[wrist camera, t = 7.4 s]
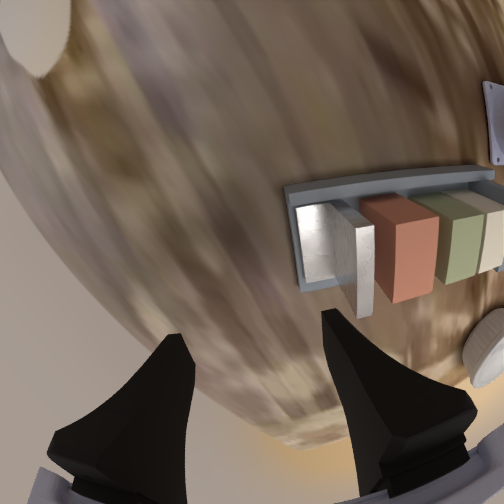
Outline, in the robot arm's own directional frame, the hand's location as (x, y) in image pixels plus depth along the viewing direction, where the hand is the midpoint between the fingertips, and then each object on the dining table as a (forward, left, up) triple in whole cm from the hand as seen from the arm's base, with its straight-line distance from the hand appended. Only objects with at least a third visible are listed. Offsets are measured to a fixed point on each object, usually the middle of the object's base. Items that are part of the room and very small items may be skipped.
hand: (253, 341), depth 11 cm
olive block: (-14, 0, -9) cm, 16 cm away
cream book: (-17, 0, -9) cm, 19 cm away
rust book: (-10, 0, -9) cm, 13 cm away
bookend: (-5, 0, -9) cm, 10 cm away
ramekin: (-29, +19, -10) cm, 36 cm away
